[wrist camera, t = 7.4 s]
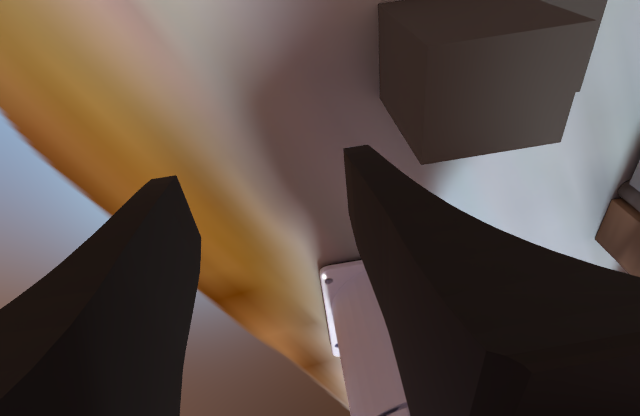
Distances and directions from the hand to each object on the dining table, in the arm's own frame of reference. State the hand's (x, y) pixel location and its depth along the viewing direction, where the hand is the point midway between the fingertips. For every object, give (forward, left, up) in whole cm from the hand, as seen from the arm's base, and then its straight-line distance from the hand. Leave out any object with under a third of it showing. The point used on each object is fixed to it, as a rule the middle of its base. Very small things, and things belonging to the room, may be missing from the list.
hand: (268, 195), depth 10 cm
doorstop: (0, -9, -9) cm, 13 cm away
